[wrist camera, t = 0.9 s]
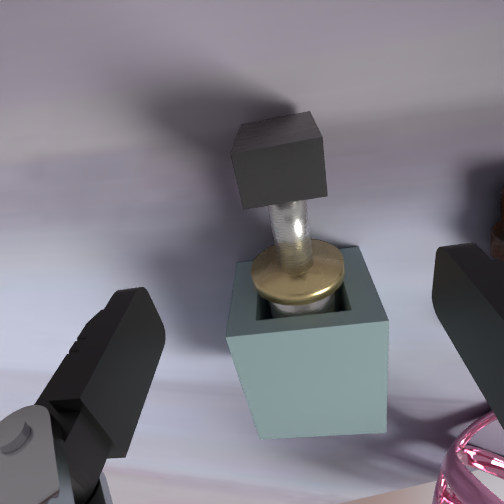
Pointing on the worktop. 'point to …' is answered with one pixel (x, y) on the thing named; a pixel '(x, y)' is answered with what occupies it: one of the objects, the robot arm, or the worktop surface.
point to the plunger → (288, 213)
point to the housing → (313, 359)
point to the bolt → (498, 234)
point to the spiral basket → (459, 477)
